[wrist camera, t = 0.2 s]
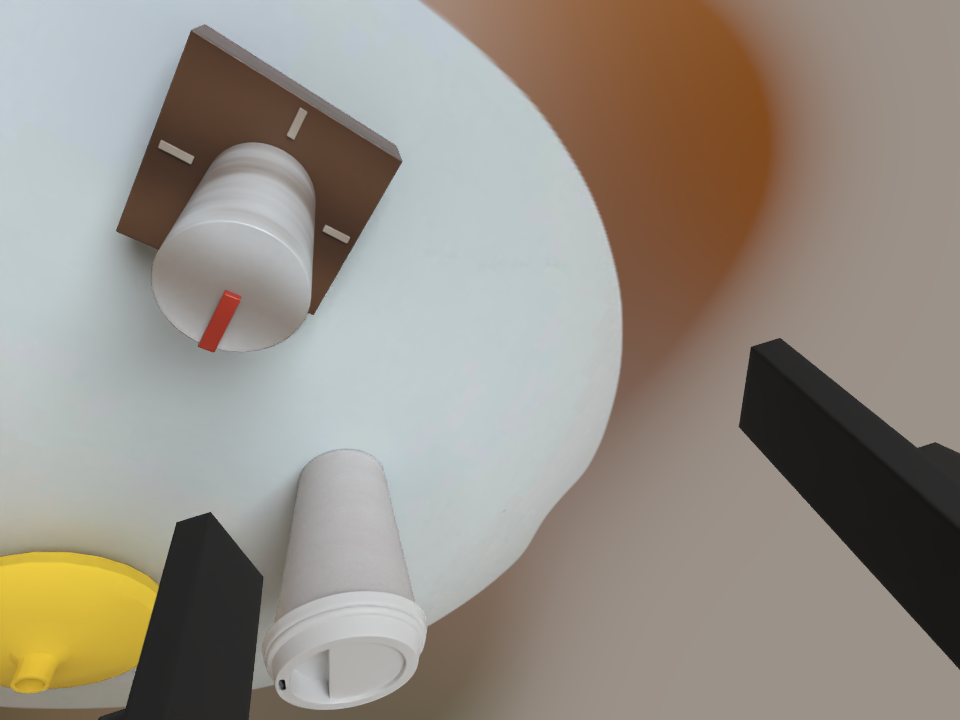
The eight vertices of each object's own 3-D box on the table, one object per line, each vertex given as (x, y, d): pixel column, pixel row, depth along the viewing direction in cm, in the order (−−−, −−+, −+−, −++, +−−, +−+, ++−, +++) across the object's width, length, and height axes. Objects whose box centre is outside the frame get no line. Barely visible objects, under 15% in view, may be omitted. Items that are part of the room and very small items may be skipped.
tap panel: (204, 23, 24) (190, 29, 22) (396, 145, 29) (403, 162, 27) (133, 209, 28) (114, 232, 26) (314, 291, 33) (313, 317, 30)
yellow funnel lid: (168, 520, 41) (143, 606, 35) (189, 634, 49) (172, 719, 44) (-96, 534, 36) (-173, 636, 31) (-22, 657, 45) (-72, 755, 39)
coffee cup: (305, 420, 38) (295, 619, 26) (424, 450, 43) (461, 634, 31) (260, 508, 42) (234, 716, 30) (373, 528, 47) (389, 717, 35)
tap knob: (229, 120, 24) (180, 194, 16) (333, 178, 27) (336, 268, 18) (189, 213, 26) (126, 323, 18) (289, 260, 28) (274, 375, 20)
